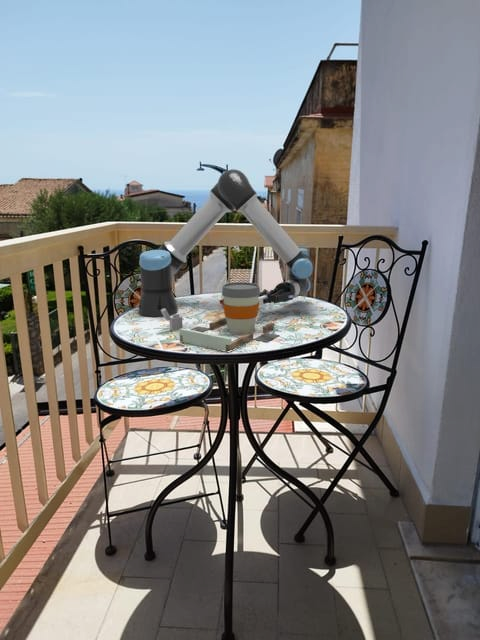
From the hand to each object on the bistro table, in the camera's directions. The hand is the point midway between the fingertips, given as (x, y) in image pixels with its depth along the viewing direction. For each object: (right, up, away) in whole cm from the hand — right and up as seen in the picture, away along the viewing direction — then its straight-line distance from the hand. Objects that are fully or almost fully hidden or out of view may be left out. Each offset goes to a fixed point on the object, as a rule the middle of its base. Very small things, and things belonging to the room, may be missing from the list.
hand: (256, 302), depth 148 cm
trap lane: (-9, -11, -11) cm, 17 cm away
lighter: (-28, -10, -6) cm, 31 cm away
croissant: (-5, 0, +30) cm, 30 cm away
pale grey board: (-16, -14, -22) cm, 30 cm away
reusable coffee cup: (-5, -9, -5) cm, 12 cm away
